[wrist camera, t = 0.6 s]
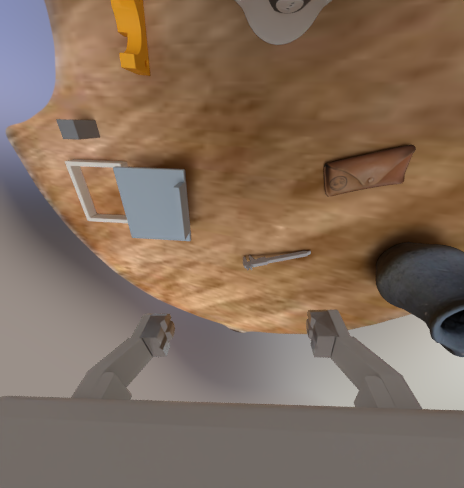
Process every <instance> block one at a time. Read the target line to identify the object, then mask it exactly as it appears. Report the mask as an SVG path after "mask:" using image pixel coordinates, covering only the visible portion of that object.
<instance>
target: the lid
mask: <svg viewBox="0 0 464 488" xmlns="http://www.w3.org/2000/svg"><path fill="white" fill-rule="evenodd" d="M113 170H114V173H115V177H116V181H117V184H118V188H119V192H120V195H121V199H122V203H123V206H124V210H125V214H126V217H127V221H128V225H129V228H130V232H131V235H132V238H146V239H163V240H180V241H191V230H190V220H189V209H188V199H187V188H186V178H185V169H168V168H143V167H119V166H115V167H113Z"/></svg>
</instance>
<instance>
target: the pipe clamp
mask: <svg viewBox="0 0 464 488" xmlns="http://www.w3.org/2000/svg"><path fill="white" fill-rule="evenodd" d="M111 5H112V9H113V12H114V15H115V19H116V23H117V29H118V32H119V33H120V34H122V35H123V36H125V37H128V43H127V49H126V51H125V52H124V53H119V54H120V61H121V67H122V68H124V69H127V70H129V71H131V72H133V73H136V74H138V75H148V76H150V68H149V58H148V48H147V37H146V27H145V17H144V7H143V0H111Z"/></svg>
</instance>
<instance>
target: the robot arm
mask: <svg viewBox="0 0 464 488" xmlns="http://www.w3.org/2000/svg"><path fill="white" fill-rule="evenodd" d="M235 1H236V2H237V3H238V4H239V5H240V6H241V7H242V9H243V11H244V13H245V16H246V18H247V21H248V23H249V25H250V27H251V28H252V30H253V31H254V32H255V34H256V35H257V36H258V37H260V38H261V39H262V40H264V41H265V42H268V43H270V44H275V45H281V44H287V43H290V42H292V41H294V40H296V39H297V38H299V37H300V36H301V35H302V34H304V33H305V32H306V31H307V29H308V28H309V27H310V26H311V25H312V23H313V22H314V20H315V19H316V17H317V16H318V14H319V12H320V11H321V10H322V8H323V7H324V6H326V5H327V4H328V3H329V2H331V1H332V0H235ZM307 316H308V319H307V320H306V328H307V333H308V337H309V338H310V339H311V347H312V351H313V355H314V357H328V358H329V357H330V358H331V359H332V360H333V361H334V363H336V365H337V366H338V367H339V368H340V369H341V370H342V371H343V373H345V375H346V376H347V377H348V378H349V379H350V381H351V382H352V383H353V384H354V385H355V386H356V387H357V388H358V389H359V392H358V395H357V396H356V399H355V401H354V404H355V407H335V406H304V405H275V404H245V403H244V404H243V403H213V402H183V401H182V402H181V401H180V402H179V401H152V400H130V399H131V397H132V395H131V393H130V391H129V390H128V389H127V388H126V387H127V386H128V385H129V384H130V382H132V380H133V379H134V378H135V377H136V376H137V375H138V374H139V372H140V371H141V370H142V369H143V368H144V367H145V366H146V364H147V363H148V362H149V361H150V360H151V359H152V358H153V357H162V356H167V353H168V350H169V347H170V343H169V341H170V340H171V339H172V338H173V335H174V331H175V327H174V323H173V322H172V321H171V320H170V319H171V316H170V314H144V315H143V316H142V318H141V320H140V322H139V324H138V325H137V327H136V329H135V331H134V333H133V335H132V337H131V338H128V339H127V340H126V341H124V342H123V343H122V344H121V345H119V346H118V347H117V348H116V349H115V350H113V351H112V352H111V353H110V354H108V355H107V356H106V357H105V358H104V359H102V360H101V361H100V362H98V363H97V364H96V365H95V366H94V367H92V368H91V369H90V370H89V371H88V372H87V374H86V375H85V377H84V378H83V380H82V381H81V383H80V384H79V386H78V388H77V389H76V391H75V392H74V394H73V395H72V397H71V398H59V397H28V396H27V397H25V396H3V397H0V488H464V411H459V410H428V409H422V408H421V406H420V404H419V403H418V401H417V399H416V398H415V396H414V395H413V393H412V391H411V390H410V388H409V386H408V385H407V383H406V382H405V380H404V378H403V376H402V375H401V374H400V373H398V372H397V371H396V370H395V369H393V368H392V367H391V366H390V365H388V364H387V363H386V362H385V361H383V360H382V359H381V358H380V357H378V356H377V355H376V354H375V353H373V352H372V351H371V350H370V349H368V348H367V347H366V346H365V345H363V344H362V343H361V342H360V341H358V340H357V339H356V338H354V337H351V336H350V335H349V332H348V330H347V328H346V326H345V324H344V322H343V320H342V318H341V316H340V314H339V312H338V310H308V312H307Z"/></svg>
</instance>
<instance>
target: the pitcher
mask: <svg viewBox="0 0 464 488" xmlns="http://www.w3.org/2000/svg"><path fill="white" fill-rule="evenodd" d="M376 285H377V288H378V291H379V292H380V294H381V296H382V297H383V298H384V299H385V300H386V301H387V302H389V303H390V304H392V305H394V306H396V307H399V308H402V309H404V310H406V311H408V312H409V313H411V314H413V315H415V316H417V317H418V318H420V319H421V320H423V321H424V322H425V323H426V324H427V326H428V328H429V329H430V334H431V337H432V339H433V340H435V341H436V342H437V343H440V344H441V345H442V346H443V347H444V348H445V349H447V350H448V351H449V352H450V353H452V354H453V355H456V356H459V357H464V252H463V251H461V250H459V249H456V248H454V247H451V246H446V245H438V244H422V243H411V242H407V243H401V244H398V245H395V246H393V247H391V248H389V249H388V250H387V251H385V252H384V253H383V254H382V255H381V256H380V258H379V259H378V261H377V264H376Z"/></svg>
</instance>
